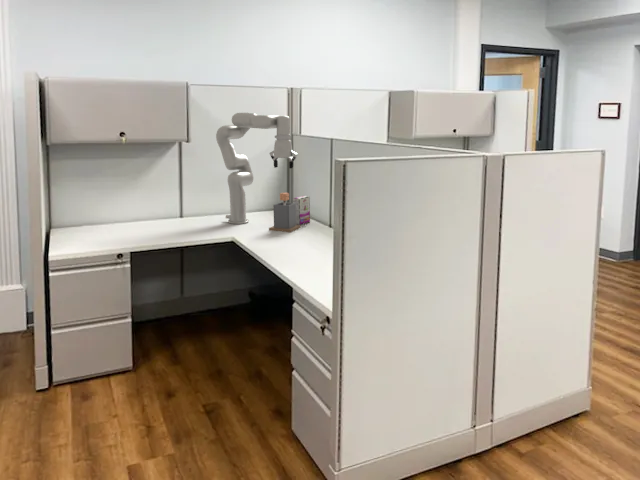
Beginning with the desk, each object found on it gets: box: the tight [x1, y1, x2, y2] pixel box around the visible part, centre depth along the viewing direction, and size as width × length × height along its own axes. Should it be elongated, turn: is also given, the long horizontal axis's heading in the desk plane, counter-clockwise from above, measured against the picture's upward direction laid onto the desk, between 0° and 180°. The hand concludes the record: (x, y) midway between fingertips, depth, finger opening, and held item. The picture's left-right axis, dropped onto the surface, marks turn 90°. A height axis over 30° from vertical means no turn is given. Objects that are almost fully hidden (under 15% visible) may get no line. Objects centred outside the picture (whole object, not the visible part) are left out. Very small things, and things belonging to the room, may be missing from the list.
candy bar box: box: [292, 195, 311, 226], centre depth 369 cm, size 11×5×16 cm, turn 146°
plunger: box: [279, 192, 290, 205], centre depth 351 cm, size 7×7×19 cm
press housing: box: [268, 201, 302, 233], centre depth 352 cm, size 14×14×15 cm
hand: (283, 167), depth 346 cm, fingers open, 9 cm apart
